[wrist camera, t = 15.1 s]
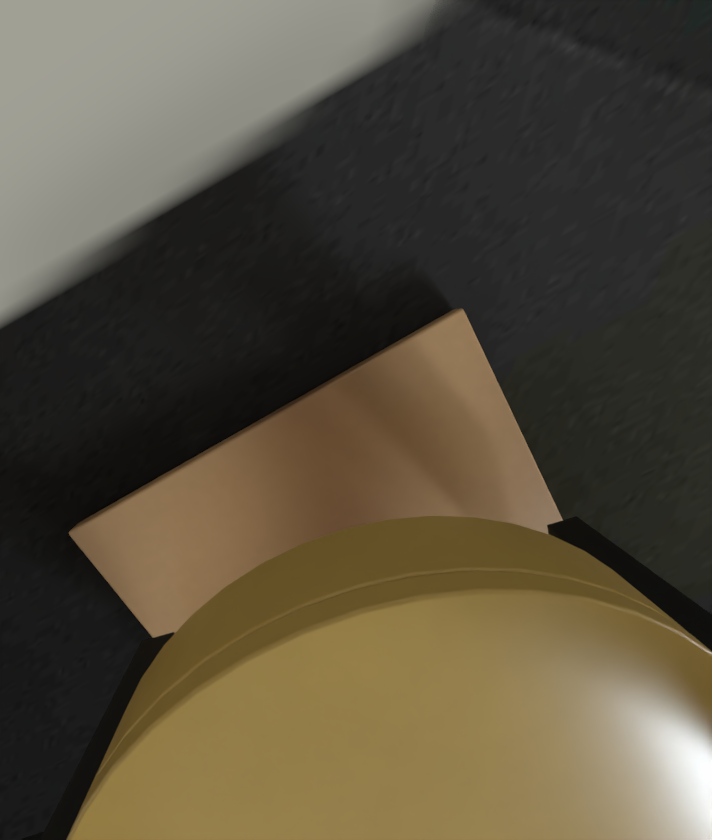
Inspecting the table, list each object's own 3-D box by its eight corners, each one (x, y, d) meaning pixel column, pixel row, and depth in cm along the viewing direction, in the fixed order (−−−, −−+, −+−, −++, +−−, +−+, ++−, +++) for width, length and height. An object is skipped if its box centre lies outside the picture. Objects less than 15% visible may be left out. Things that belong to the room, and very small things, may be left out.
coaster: (455, 307, 11) (463, 307, 11) (607, 628, 14) (620, 641, 13) (78, 522, 12) (66, 532, 11) (299, 799, 14) (299, 819, 14)
